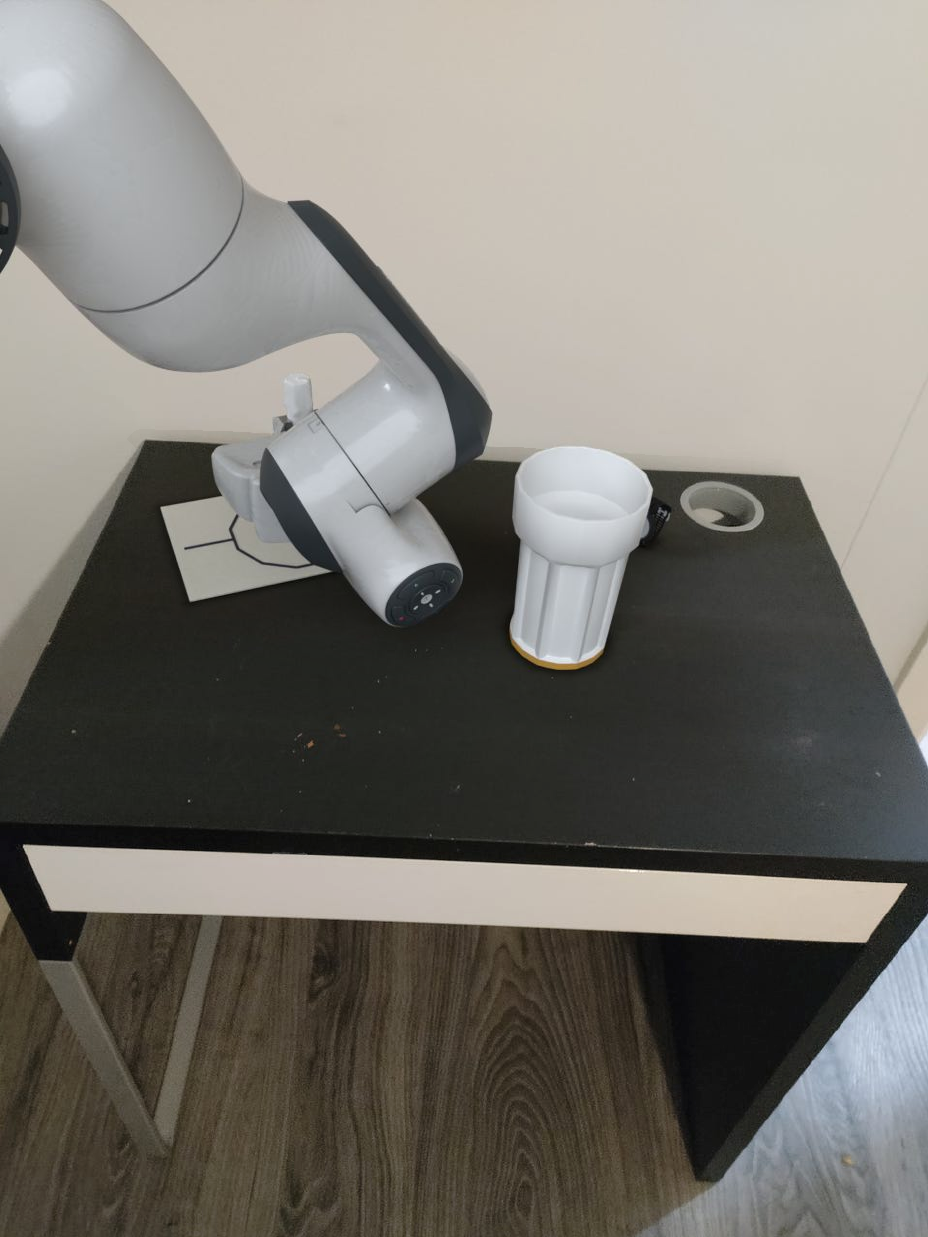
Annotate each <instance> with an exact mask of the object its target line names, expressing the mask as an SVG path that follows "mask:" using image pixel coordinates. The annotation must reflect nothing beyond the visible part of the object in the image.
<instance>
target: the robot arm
mask: <svg viewBox="0 0 928 1237" xmlns="http://www.w3.org/2000/svg"><path fill="white" fill-rule="evenodd" d="M15 247H16V248H17V249H18V250H19V251H21V253H23V254H24V255H25V256H26V257H27V258H28V259H29V260H30V261H31V262H32V263H33V264H34V265H35V266H36V267H37V268H38V270H40V271H41V272H42V273H43V275H44V276H45V277H46V278H47V279H48V281H50V283H51V284H53V286H54V287H55V288H56V289H57V290H58V291H59V292H60V293H61V294H62V295H63V297H65V298H66V300H67V301H69V303H70V304H72V306H73V307H74V308H75V309H76V310H77V311H78V312H79V313H80V314H81V315H82V316H83V317H84V318H85V319H86V320H87V321H88V322H89V323H91V325H92V326H94V328H96V329H97V330H99V332H100V333H101V334H103V335H104V336H105V337H106V338H108V339H109V340H110V341H111V342H113V343H114V344H115V345H116V346H117V347H119V348H120V349H122V350H123V351H124V352H125V353H127V354H128V355H130V356H132V357H133V358H135V359H137V360H139V361H141V362H142V363H144V364H146V365H149V366H152V367H156V368H158V369H162V370H165V371H171V372H180V373H181V372H182V373H193V374H194V373H195V374H196V373H198V374H199V373H200V374H201V373H213V372H220V371H226V370H231V369H235V368H238V367H242V366H244V365H247V364H250V363H253V362H255V361H256V360H257V361H258V360H259V359H261V358H263V357H266V356H269V355H271V354H273V353H275V352H277V351H281V350H282V349H285V348H288V347H290V346H294V345H297V344H298V343H302V342H305V341H308V340H311V339H315V338H318V337H323V336H328V335H333V334H352V335H354V336H357V338H359V339H360V341H362V343H364V345H365V346H366V347H367V348H368V349H369V350H370V351H371V352H372V353H373V354H374V355H375V357H377V358H378V360H377V362H376V363H375V364H374V366H373V367H372V368H371V369H370V370H369V371H367V373H366V374H364V375H363V376H361V377H360V378H359V379H357V380H356V381H355V382H353V383H352V384H350V385H349V386H348V387H346V388H345V389H343V391H341V392H340V393H338V394H337V395H335V396H334V397H333V398H331V400H329V401H328V402H326V403H325V404H323V405H322V406H321V407H319V408H316V409H313V412H312V413H311V414H310V415H308V416H307V417H305V418H304V419H303V420H301V421H300V422H299V423H297V424H296V425H294V426H293V424H292V421H291V420H290V419H288V417H287V414H284V415H278V416H273V417H272V430H273V431H272V435H268V436H264V437H259V438H254V439H248V440H244V441H238V442H234V443H229V444H222V445H219V446H217V447H216V448H215V449H213V450H214V451H213V452H212V453H211V456H210V459H211V468H212V473H213V474H212V475H213V478H214V482H215V485H216V487H217V489H218V491H219V492H220V494H221V496H223V497H224V499H225V500H226V501H227V503H228V504H229V505H230V507H231V508H232V509H233V510H234V511H235V512H236V513H237V514H238V515H239V516H240V517H241V518H243V519H245V520H247V521H250V522H253V524H254V527H255V531H256V534H257V537H258V538H259V540H260V541H262V542H265V543H282V542H291V543H292V544H293V545H294V547H295V548H296V549H297V550H298V552H299V553H300V554H301V555H302V556H303V557H304V558H305V559H306V560H308V561H309V562H310V563H311V564H313V565H315V566H318V567H321V568H324V569H327V570H330V571H333V572H334V573H339V574H343V576H344V577H345V578H346V580H347V581H348V582H349V584H350V585H351V587H352V588H353V590H355V592H356V593H357V594H358V596H359V597H360V598H361V599H362V600H363V602H364V603H365V604H366V605H367V606H368V608H370V609H371V610H372V612H374V614H376V615H377V617H378V618H380V619H381V620H382V621H383V622H385V624H387V625H390V626H392V627H395V628H408V627H412V626H415V625H418V624H421V623H423V622H425V621H427V620H429V619H430V618H431V617H433V616H434V615H436V614H438V613H439V612H440V611H441V610H442V609H444V608H445V607H446V606H447V605H448V604H449V603H450V602H452V600H453V599H454V598H455V596H456V595H457V593H458V592H459V590H460V589H461V586H462V584H463V577H464V572H463V567H462V565H461V563H460V560H459V558H458V556H457V554H456V552H455V550H454V548H453V546H452V545H451V543H450V541H449V539H448V537H447V536H446V534H445V533H444V531H443V530H442V527H441V526H440V524H438V522H437V520H436V519H435V517H434V516H433V514H431V512H430V511H429V509H428V508H427V507H426V506H425V505H424V504H423V503H422V501H420V500H419V499H418V498H417V497H419V495H421V494H422V493H424V492H426V490H428V489H429V488H430V487H432V486H434V485H435V484H436V483H438V481H440V480H441V479H443V478H444V477H446V476H448V475H452V474H453V473H455V472H456V471H458V470H459V469H461V468H462V467H464V466H466V465H468V464H469V463H471V462H473V461H474V460H476V459H477V458H480V457H481V456H483V454H484V452H485V449H486V446H487V443H488V441H489V440H488V439H489V437H490V431H491V426H492V423H493V422H492V421H493V411H492V409H491V406H490V402H489V399H488V397H487V394H486V392H485V390H484V388H483V386H482V384H481V383H480V381H479V380H478V378H477V377H476V376H475V374H474V373H473V371H472V370H471V369H470V368H469V367H468V366H467V364H466V363H465V362H463V361H462V360H461V359H460V358H459V357H458V356H457V355H456V354H454V352H453V351H451V350H449V349H448V348H447V347H445V346H444V345H443V344H441V343H440V342H439V340H438V338H437V337H436V335H435V334H434V333H433V331H432V330H431V329H430V327H429V326H428V325H427V324H426V323H425V321H423V319H422V318H421V317H420V315H419V314H418V312H416V310H415V309H414V307H412V305H411V304H410V303H409V302H408V301H407V299H406V298H405V297H404V295H403V294H402V293H401V292H400V290H399V289H398V287H397V286H396V285H395V284H394V283H393V281H392V280H391V279H390V277H389V276H388V275H387V274H386V273H385V272H384V270H383V269H382V268H381V267H380V266H378V265H377V264H376V263H375V262H374V261H373V260H372V258H371V257H370V256H369V255H368V253H366V251H365V250H364V249H363V247H361V245H360V244H359V243H358V242H357V240H356V239H355V238H354V237H353V236H352V234H350V233H349V231H348V230H347V229H346V228H345V227H344V225H343V224H341V222H339V221H338V220H337V219H336V218H335V217H334V216H333V215H331V214H330V213H329V212H328V211H327V210H326V209H324V208H323V207H321V205H319V204H317V203H315V202H314V201H312V200H310V199H300V200H299V199H298V200H287V202H286V201H281V200H278V199H276V198H273V197H270V196H268V195H266V194H264V193H262V192H260V191H259V190H258V189H256V188H255V187H253V186H252V185H251V184H250V182H248V181H247V180H246V178H245V177H244V176H243V175H242V172H240V170H239V168H238V167H237V165H236V164H235V162H234V160H233V158H232V156H231V155H230V154H229V152H228V151H227V149H226V147H225V145H223V142H222V140H220V138H219V136H218V135H217V133H216V132H215V130H214V128H212V126H211V124H210V123H209V121H208V120H207V118H205V115H203V113H202V111H201V110H200V109H199V107H198V106H197V104H196V103H195V102H194V100H193V99H192V98H191V96H190V95H189V94H188V93H187V91H186V90H185V89H184V87H183V86H182V85H181V84H180V82H179V81H178V80H177V78H176V77H175V76H174V74H172V72H171V71H170V70H169V69H168V67H167V66H166V65H165V64H164V62H163V61H162V60H161V59H160V58H159V57H158V55H157V54H156V53H155V52H154V51H153V50H152V48H150V46H149V45H148V44H147V43H146V41H145V40H144V39H143V38H142V37H141V36H140V35H139V34H138V33H137V32H136V31H135V30H134V28H133V27H132V26H131V25H130V24H129V23H128V22H127V21H126V19H125V18H123V17H122V15H121V14H120V13H118V12H117V11H116V10H115V9H114V8H112V6H111V5H109V4H108V3H107V2H105V1H104V0H0V250H1V252H0V274H2V272H3V271H4V270H5V267H6V266H7V264H8V263H9V261H10V259H11V256H12V254H13V252H14V250H15ZM333 572H332V573H333Z"/></svg>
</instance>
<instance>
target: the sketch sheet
mask: <svg viewBox="0 0 928 1237" xmlns="http://www.w3.org/2000/svg"><path fill="white" fill-rule="evenodd" d="M160 511H161V515H162V518H163V520H164V524H165V527H166V531H167V534H168V536H169V539H170V542H171V543H170V544H171V546H172V549H173V552H174V555H175V558H176V562H177V566H178V568H179V571H180V574H181V578H182V581H183V585H184V588H185V591H186V594H187V597H188V601H189V602H190V603H191V602H192V603H194V602H197V601H201V600H207V599H210V598H215V597H220V596H221V597H222V596H225V595H229V594H235V593H239V592H245V591H248V590H253V589H257V588H263V587H267V586H272V585H277V584H281V583H282V584H283V583H287V582H290V581H296V580H301V579H305V578H309V577H315V576H320V575H324V574H329V573H333V571H330V570H327V569H324V568H321V567H318V566H315V565H313V564H311V563H310V562H309V561H308V560H306V559H305V558H304V557H303V556H302V555H301V554H300V553H299V552H298V550H297V549H296V548H295V547H294V545H293V544H292V543H291V542H282V543H265V542H262V541H260V540H259V538H258V537H257V534H256V531H255V527H254V524H253V522H250V521H247V520H245V519H243V518H241V517H240V516H239V515H238V514H237V513H236V512H235V511H234V510H233V509H232V508H231V507H230V505H229V504H228V503H227V501H226V500H225V499H224V497H223V496H222V495H221V496H215V497H210V498H204V499H198V500H193V501H187V502H182V503H175V504H170V505H165V506H160Z"/></svg>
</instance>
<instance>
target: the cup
mask: <svg viewBox="0 0 928 1237" xmlns="http://www.w3.org/2000/svg"><path fill="white" fill-rule="evenodd" d="M517 469H518V470H517V471H516V474H515V476H514V486H513V487H514V489H513V501H512V502H513V503H512V514H511V515H512V516H511V519H512V523H513V527H514V532H515V534H516V535H517V537H518V538H519V539H520V543H519V554H518V564H517V565H518V566H517V577H516V586H515V587H516V588H515V596H514V597H515V598H514V608H513V609H514V610H513V614H512V616H511V619H510V623H509V638H510V643H511V645H512V646H513V647H514V649H515V650H516V651H517V652H518V653H519V655H521V656H522V657H523V658H525V659H526V660H528V661H529V662H531V663H532V664H534V665H536V666H540V667H542V668H546V669H551V670H559V671H563V670H564V671H565V670H566V671H567V670H578V669H581V668H583V667H587V666H589V665H590V664H593V663H594V662H596V660H598V658H600V657H601V656H602V655H603V654H604V650H605V647H606V643H607V638H608V635H609V631H610V627H611V624H612V620H613V616H614V612H615V608H616V606H617V601H618V597H619V593H620V590H621V587H622V583H623V579H624V575H625V571H626V567H627V564H628V561H629V556H630V553H631V552H633V551H634V550H635V549H636V548H637V547H639V546H640V545H639V542H640V538H641V534H642V531H643V527H644V524H645V520H646V516H647V513H648V509H649V506H650V501H651V497H653V492H654V488H653V486H652V484H651V481H650V480H649V477H648V475H647V473H646V472H645V471H643V470H642V469H641V468H640V467H639V466H637V465H636V464H635V463H634V462H633V461H631V460H630V459H628V458H626V457H623V456H621V455H619V454H617V453H615V452H613V451H610V450H606V449H602V448H596V447H592V446H591V447H590V446H587V445H557V446H553V447H549V448H545V449H542V450H538V451H536V452H535V453H533V454H531V455H530V456H528V457H527V458H525V459H524V460H522V461H521V462H520V464H519V466H518V468H517Z"/></svg>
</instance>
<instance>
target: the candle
mask: <svg viewBox="0 0 928 1237" xmlns="http://www.w3.org/2000/svg"><path fill="white" fill-rule="evenodd" d="M283 406H284V408H285V412H286V415H287V417H288V419H290V420H291V421H292V424H293V426H294V425H296V424H297V423H299V422H300V421H301V420H303V419H304V418H305V417H307V416H308V415H310V414H311V413H312V412H313V410H314V400H313V388H312V380H311V378H310V376H309V375H307V374H306V373H304V372H294V373H291V374H288V375H287V376H285V378H284V380H283Z"/></svg>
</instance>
